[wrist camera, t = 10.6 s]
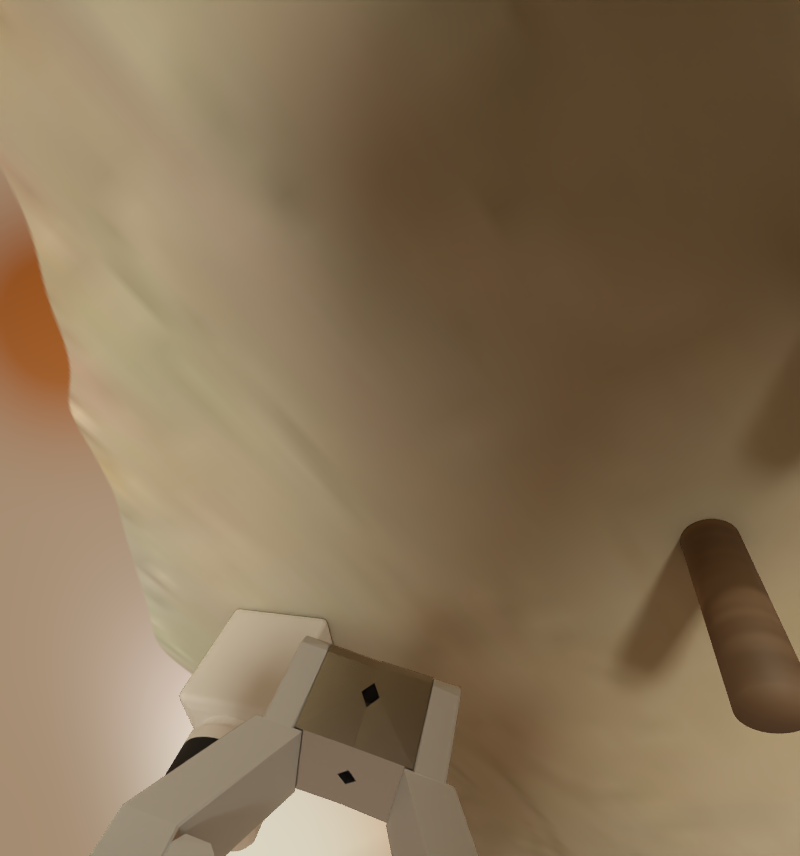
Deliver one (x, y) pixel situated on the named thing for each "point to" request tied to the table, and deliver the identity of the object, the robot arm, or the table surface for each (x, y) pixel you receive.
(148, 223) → the table surface
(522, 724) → the table surface
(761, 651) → the post
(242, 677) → the medicine bottle
